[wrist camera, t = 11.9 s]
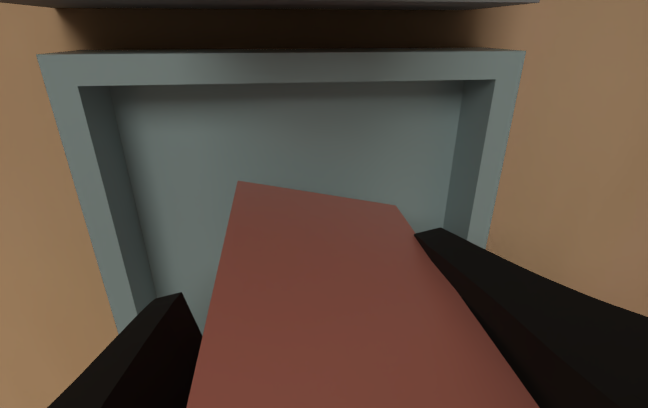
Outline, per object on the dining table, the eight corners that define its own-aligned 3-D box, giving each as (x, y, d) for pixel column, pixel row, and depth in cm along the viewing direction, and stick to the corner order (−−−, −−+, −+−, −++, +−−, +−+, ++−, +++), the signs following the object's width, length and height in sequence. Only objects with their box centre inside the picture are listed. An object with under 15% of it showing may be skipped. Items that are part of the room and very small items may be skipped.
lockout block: (396, 205, 10) (551, 425, 4) (356, 326, 11) (436, 600, 6) (237, 180, 9) (184, 411, 4) (219, 314, 10) (162, 619, 5)
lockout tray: (481, 47, 10) (525, 50, 9) (435, 334, 15) (458, 377, 13) (82, 50, 9) (35, 54, 7) (159, 360, 13) (141, 412, 12)
